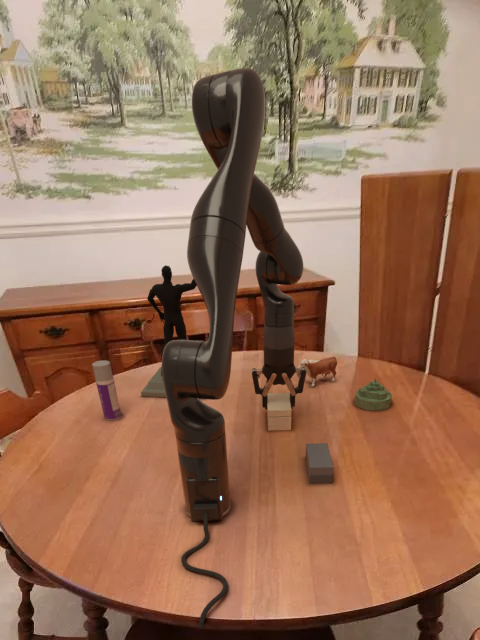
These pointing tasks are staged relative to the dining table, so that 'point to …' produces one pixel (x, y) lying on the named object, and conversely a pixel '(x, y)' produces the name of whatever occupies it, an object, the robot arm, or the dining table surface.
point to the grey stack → (319, 463)
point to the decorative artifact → (373, 397)
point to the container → (107, 390)
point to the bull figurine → (319, 368)
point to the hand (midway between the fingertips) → (278, 408)
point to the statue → (167, 322)
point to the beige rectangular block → (278, 405)
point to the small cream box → (279, 423)
